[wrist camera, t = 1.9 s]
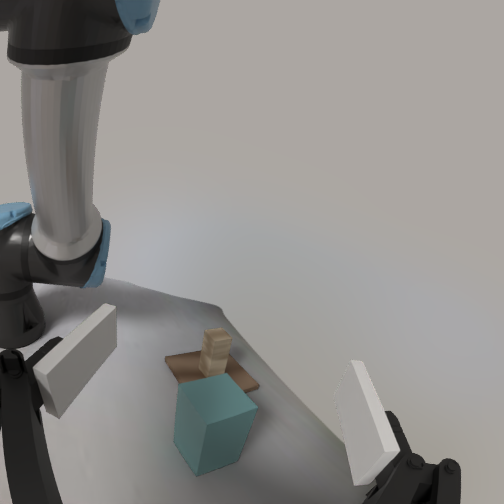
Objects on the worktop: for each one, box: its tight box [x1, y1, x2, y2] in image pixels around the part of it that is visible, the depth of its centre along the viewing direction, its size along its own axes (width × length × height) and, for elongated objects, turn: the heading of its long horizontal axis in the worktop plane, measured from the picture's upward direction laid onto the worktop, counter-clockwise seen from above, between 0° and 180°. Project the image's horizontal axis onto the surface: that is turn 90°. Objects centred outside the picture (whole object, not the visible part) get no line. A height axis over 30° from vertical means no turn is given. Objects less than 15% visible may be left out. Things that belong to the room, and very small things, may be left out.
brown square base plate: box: [165, 328, 259, 393], centre depth 45 cm, size 12×12×9 cm
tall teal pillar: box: [173, 373, 258, 476], centre depth 29 cm, size 6×6×12 cm
